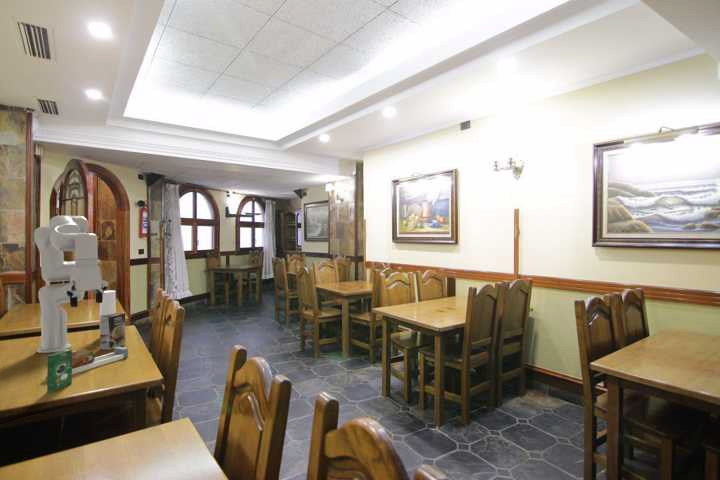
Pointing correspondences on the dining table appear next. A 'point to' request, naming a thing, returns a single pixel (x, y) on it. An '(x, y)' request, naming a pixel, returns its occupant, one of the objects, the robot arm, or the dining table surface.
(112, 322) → the coffee box
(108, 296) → the cylindrical container
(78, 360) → the tin
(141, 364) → the dining table surface
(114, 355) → the guide track
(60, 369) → the coffee box
